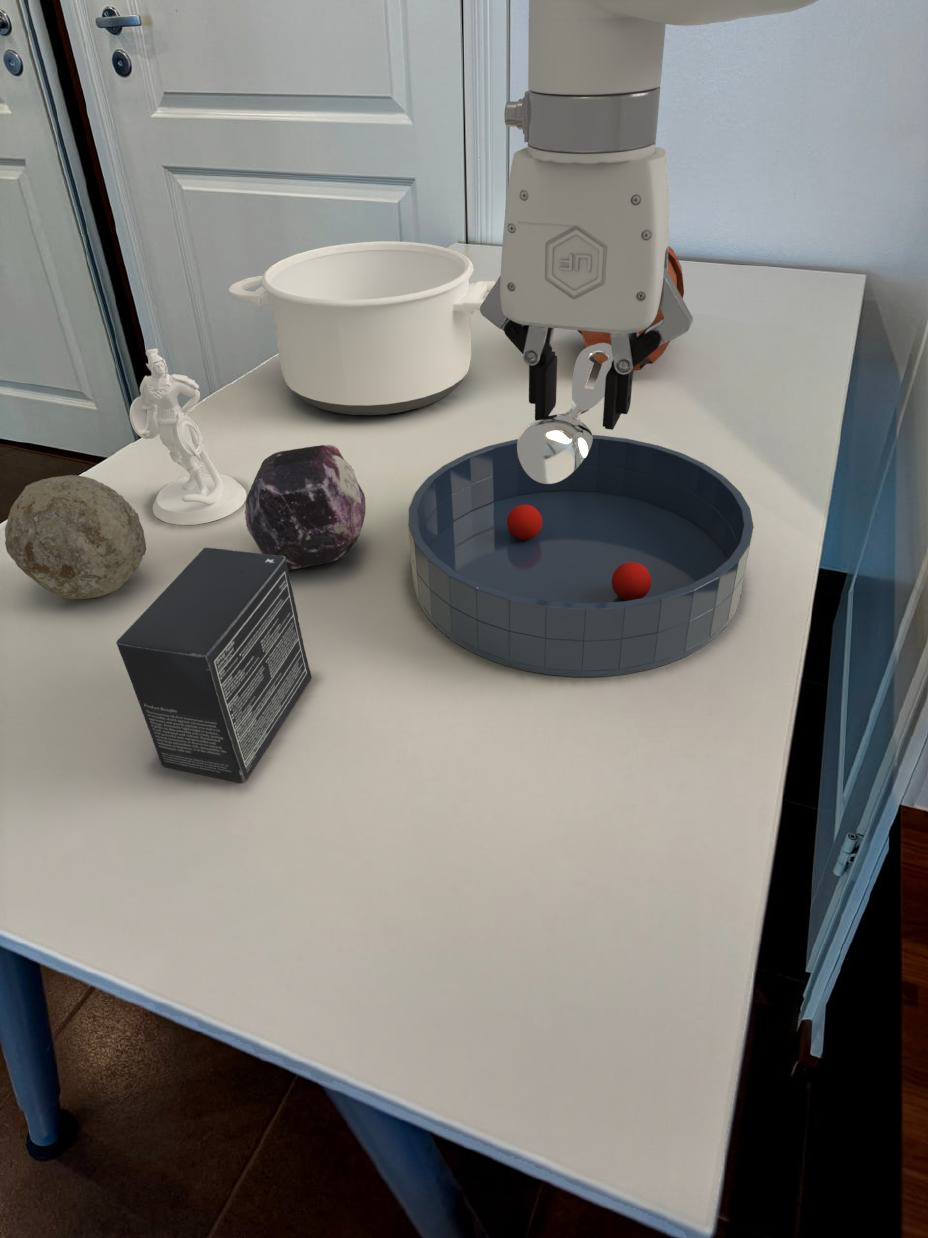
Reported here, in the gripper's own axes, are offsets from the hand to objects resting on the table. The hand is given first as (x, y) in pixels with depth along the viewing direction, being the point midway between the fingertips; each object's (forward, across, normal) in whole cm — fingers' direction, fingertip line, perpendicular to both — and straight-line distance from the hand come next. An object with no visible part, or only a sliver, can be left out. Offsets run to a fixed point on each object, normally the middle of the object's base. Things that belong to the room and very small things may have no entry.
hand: (578, 414), depth 62 cm
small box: (+15, -17, -22) cm, 32 cm away
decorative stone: (+15, -37, -12) cm, 42 cm away
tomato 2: (+12, +5, -1) cm, 13 cm away
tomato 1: (+12, -5, +5) cm, 14 cm away
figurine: (+15, -37, +3) cm, 40 cm away
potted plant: (+15, -9, +58) cm, 60 cm away
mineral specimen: (+15, -22, -2) cm, 27 cm away
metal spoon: (+1, 0, 0) cm, 1 cm away
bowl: (+15, 0, +2) cm, 15 cm away
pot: (+15, -32, +33) cm, 48 cm away
